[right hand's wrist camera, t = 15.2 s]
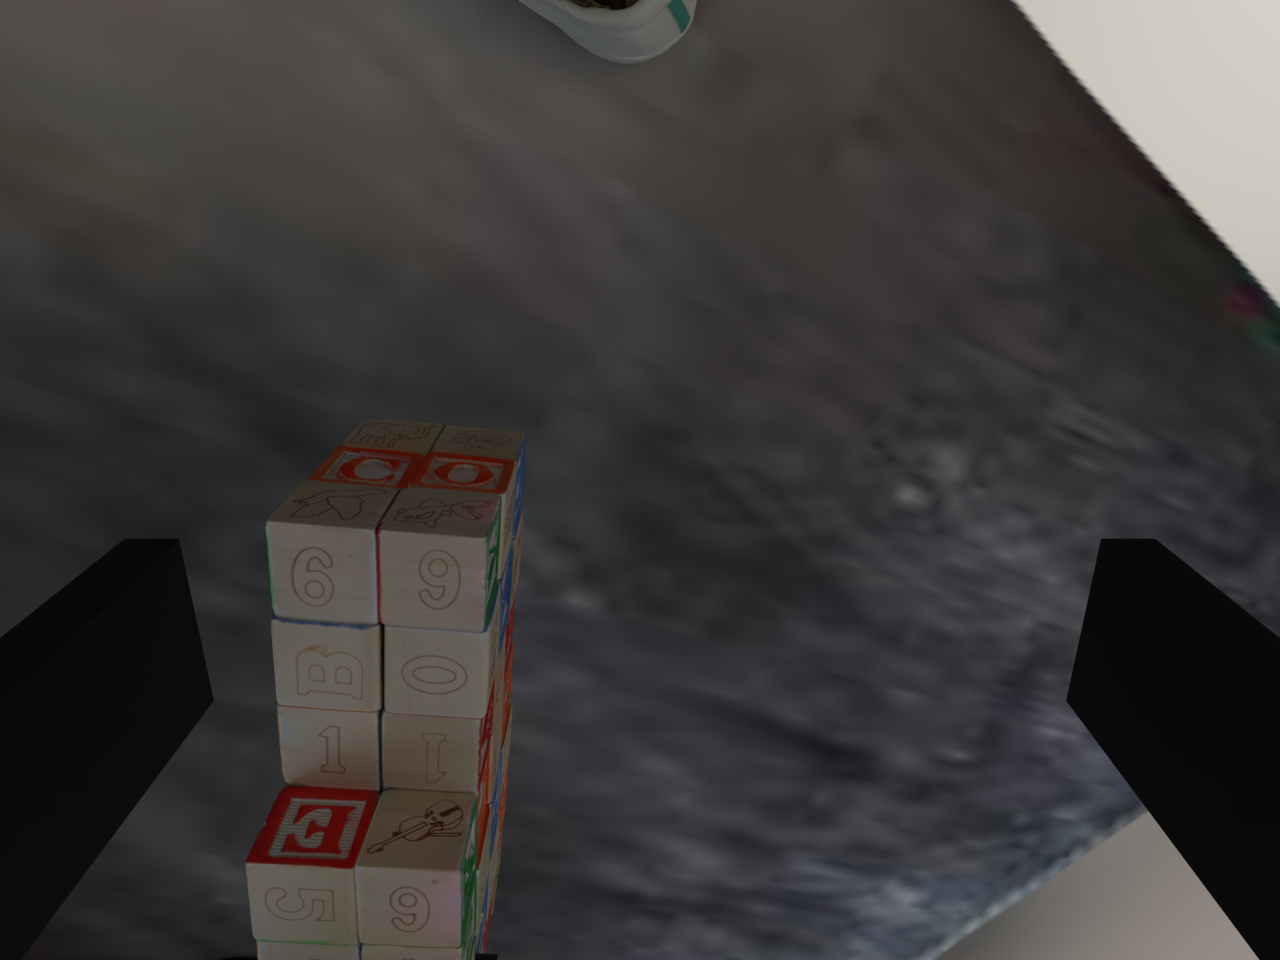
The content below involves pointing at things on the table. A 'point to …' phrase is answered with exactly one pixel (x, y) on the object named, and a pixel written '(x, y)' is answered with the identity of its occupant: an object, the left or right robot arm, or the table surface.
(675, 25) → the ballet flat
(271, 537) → the stack of blocks
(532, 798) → the table surface
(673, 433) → the table surface
